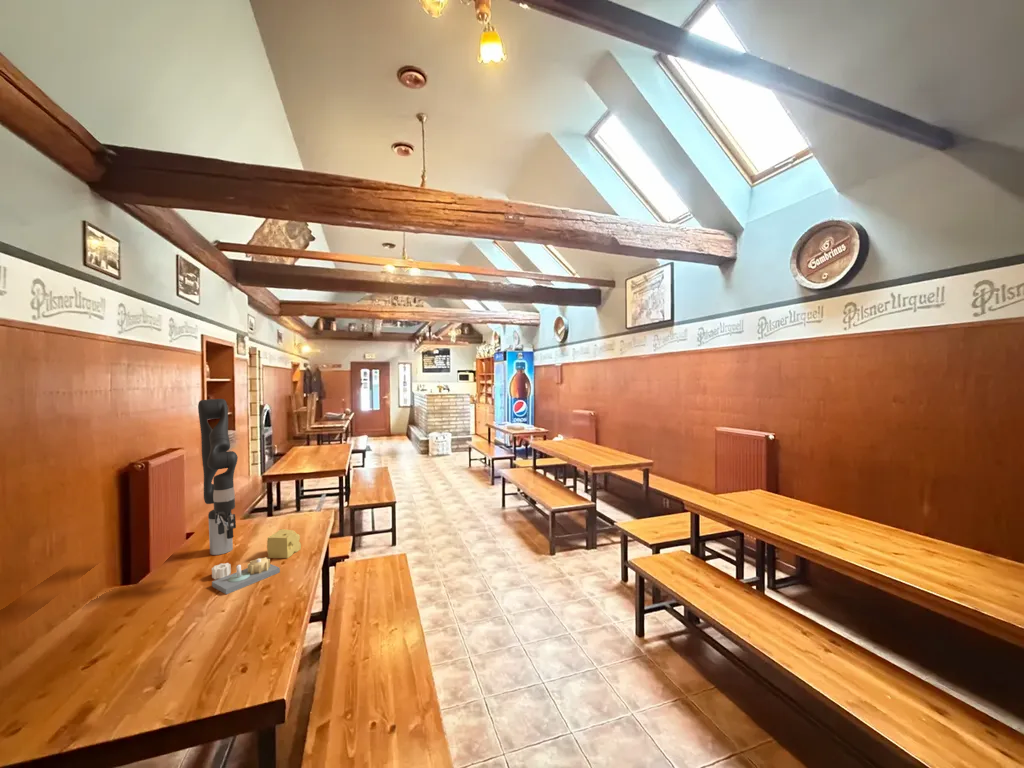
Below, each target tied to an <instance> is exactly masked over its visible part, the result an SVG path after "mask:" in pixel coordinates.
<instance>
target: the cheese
mask: <svg viewBox="0 0 1024 768" xmlns="http://www.w3.org/2000/svg"><path fill="white" fill-rule="evenodd" d="M300 539H301V535H300V534H299V533H297V532H296V531H295V530H293V529H287V528H286V529H284V528H283V529H279V530H277V531H276V532H275V533H274V534H272V535H269V536H268V537H267V540H266V549H267V559H289V558H290V557H291V556H293V555H294V553H295V554H296V553H298V552H299V551H301V549H302V548H301V547H302V544H301V542H300Z"/></svg>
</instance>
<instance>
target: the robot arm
mask: <svg viewBox="0 0 1024 768" xmlns="http://www.w3.org/2000/svg"><path fill="white" fill-rule="evenodd" d="M197 412H198V419H199V426H200V427H199V428H200V436H201V437H200V438H201V441H200V442H201V443H200V445H201V459H202V469H203V500H204V503H205V504H206V505H211V504H212V505H213V509H212V510H210V511H209V512H208V514H207V516H208V535H209V536H208V539H209V554H210V555H212V556H218V555H223V554H226V553H229V552H231V551H232V550H233V549H234V546H233V545H234V544H233V542H234V541H233V538H234V529H236V527H237V524H236V521H237V520H236V514H235V513H233V514H232V510H234V509H235V508H236V495H235V486H234V475H235V469H236V466H237V463H238V457H239V456H238V454H237V453H236V452H235V451H234V450H233V451H232V450H231V451H230V448H231V443H230V442H231V441H230V437H229V409H228V402H227V401H226V400H225V399H224V398H212V399H211V398H210V399H200V400H199V402H198V405H197ZM215 419H217V420H218V419H219V421H218V422H217V423H216V425H215V426H214V427H213V428H212V426H211V425H210V424H209V420H215ZM223 469H224V470H225V469H226V471H225V472H221V473H219V474H216V473H217V472H218V471H219V470H223Z"/></svg>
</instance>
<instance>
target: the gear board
mask: <svg viewBox="0 0 1024 768" xmlns="http://www.w3.org/2000/svg"><path fill="white" fill-rule="evenodd" d="M280 571H281V568H280V567H279V566H276V565H275V564H272V563H271V558H268V556H267V557H266V556H265V557H258V558H256V559H253V560H250V561H249V563H247V568H244V569H242V565H241V564H238V565H236V571H235V572H234V573H231V574H229V575H228V576H226V577H223V578H219V579H214V580H212V581H211V587H212V588H213V589H216V590H217V591H219V592H221V593H223V594H225V595H228V594H230V593H231V594H232V593H233V592H235V591H238V590H240V589H242V588H246V587H248V586H250V585H253V584H255V583H258V582H260V581H262V580H265V579H267V578H270V577H271V576H275V575H277V574H279V573H281V572H280Z"/></svg>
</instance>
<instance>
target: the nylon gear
mask: <svg viewBox="0 0 1024 768" xmlns="http://www.w3.org/2000/svg"><path fill="white" fill-rule="evenodd" d="M231 574H232V567H231V563H229V562H226V563H219V564H217V565H213V567H211V578H212V579H213V580H218V579H220V578H223V577H226V576H228V575H231Z"/></svg>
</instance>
